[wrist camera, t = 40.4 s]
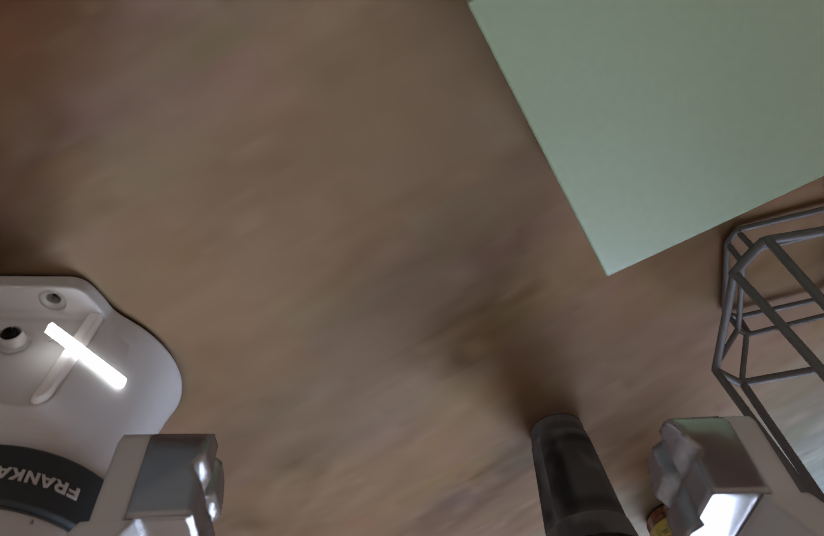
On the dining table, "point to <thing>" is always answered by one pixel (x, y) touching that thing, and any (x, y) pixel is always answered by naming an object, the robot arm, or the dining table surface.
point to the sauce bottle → (659, 522)
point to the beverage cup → (574, 482)
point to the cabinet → (665, 108)
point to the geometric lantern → (728, 294)
